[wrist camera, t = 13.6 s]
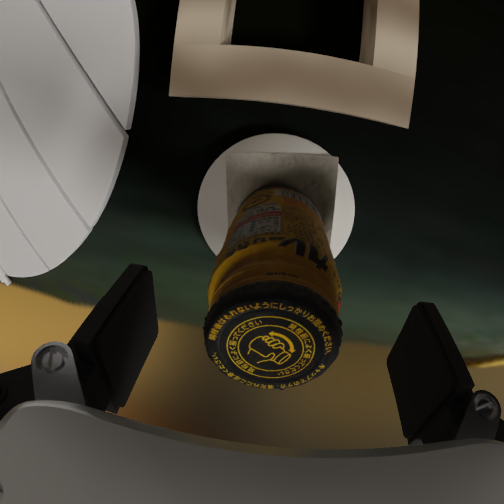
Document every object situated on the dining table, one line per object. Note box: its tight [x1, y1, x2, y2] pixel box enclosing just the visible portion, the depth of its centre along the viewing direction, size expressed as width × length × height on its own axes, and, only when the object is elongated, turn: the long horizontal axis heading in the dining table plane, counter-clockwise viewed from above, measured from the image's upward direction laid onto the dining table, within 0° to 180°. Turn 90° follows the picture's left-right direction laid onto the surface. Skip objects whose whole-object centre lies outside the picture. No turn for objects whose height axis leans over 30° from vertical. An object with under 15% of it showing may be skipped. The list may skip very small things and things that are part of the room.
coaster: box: [198, 133, 355, 258], centre depth 21 cm, size 11×11×1 cm
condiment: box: [203, 153, 343, 390], centre depth 16 cm, size 7×8×12 cm
